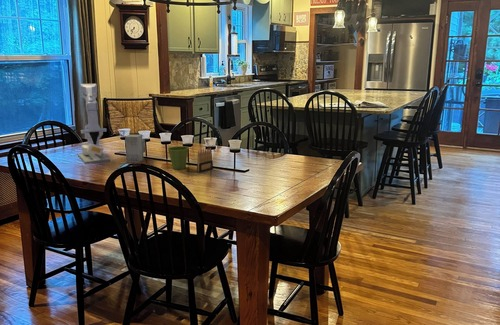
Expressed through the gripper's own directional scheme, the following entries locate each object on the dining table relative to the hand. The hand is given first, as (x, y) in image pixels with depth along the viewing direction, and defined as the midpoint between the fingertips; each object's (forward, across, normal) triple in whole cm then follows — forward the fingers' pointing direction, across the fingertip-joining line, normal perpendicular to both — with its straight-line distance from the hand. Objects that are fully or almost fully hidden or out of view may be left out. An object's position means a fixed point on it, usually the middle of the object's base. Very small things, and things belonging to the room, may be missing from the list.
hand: (95, 144), depth 275 cm
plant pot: (+9, +34, -50) cm, 61 cm away
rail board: (+9, -2, +1) cm, 9 cm away
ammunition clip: (+9, +44, -63) cm, 78 cm away
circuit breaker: (+9, +20, -16) cm, 27 cm away
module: (+5, -1, 0) cm, 5 cm away
